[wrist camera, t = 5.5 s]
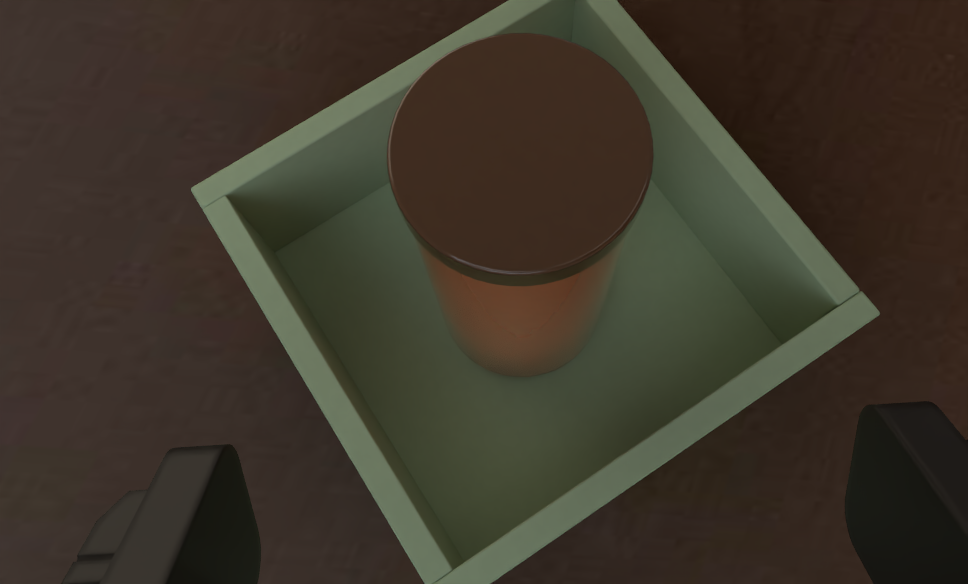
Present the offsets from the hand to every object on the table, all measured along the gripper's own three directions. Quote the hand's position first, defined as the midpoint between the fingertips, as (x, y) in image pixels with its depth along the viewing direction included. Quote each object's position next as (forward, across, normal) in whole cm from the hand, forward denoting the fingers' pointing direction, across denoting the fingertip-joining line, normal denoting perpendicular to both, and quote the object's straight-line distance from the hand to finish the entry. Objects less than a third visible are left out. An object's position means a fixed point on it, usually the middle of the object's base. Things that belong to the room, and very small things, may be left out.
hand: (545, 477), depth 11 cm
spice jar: (+14, 0, +5) cm, 14 cm away
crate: (+14, 0, +5) cm, 15 cm away
